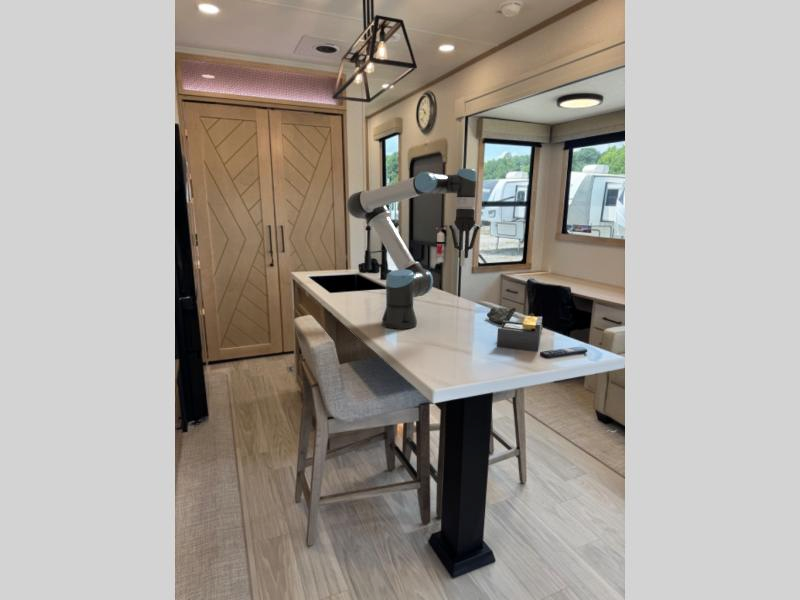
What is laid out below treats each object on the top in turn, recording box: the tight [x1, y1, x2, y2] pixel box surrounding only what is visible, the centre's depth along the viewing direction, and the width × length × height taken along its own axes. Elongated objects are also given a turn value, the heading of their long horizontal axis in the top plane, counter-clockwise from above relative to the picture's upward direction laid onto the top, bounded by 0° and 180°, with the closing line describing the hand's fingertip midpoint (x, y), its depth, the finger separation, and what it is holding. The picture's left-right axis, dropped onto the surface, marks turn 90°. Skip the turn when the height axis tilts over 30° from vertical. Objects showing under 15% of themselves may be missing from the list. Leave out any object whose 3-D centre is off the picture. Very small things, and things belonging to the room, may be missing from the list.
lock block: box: [504, 323, 533, 331], centre depth 166 cm, size 10×6×7 cm, turn 68°
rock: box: [486, 306, 517, 326], centre depth 200 cm, size 13×13×10 cm
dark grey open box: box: [496, 315, 543, 353], centre depth 165 cm, size 15×13×10 cm
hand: (462, 265), depth 184 cm, fingers closed
